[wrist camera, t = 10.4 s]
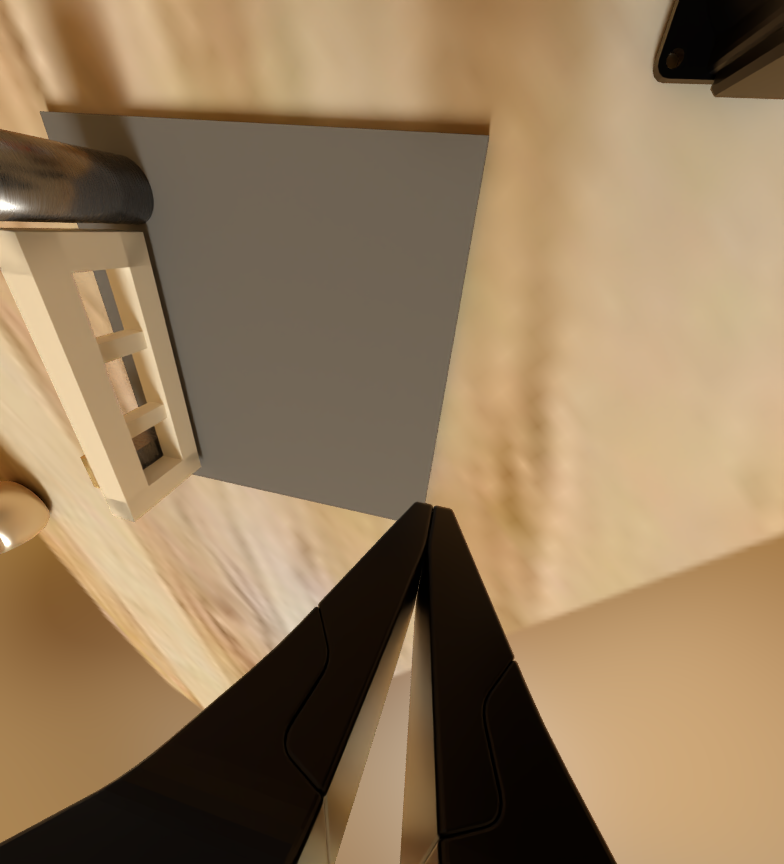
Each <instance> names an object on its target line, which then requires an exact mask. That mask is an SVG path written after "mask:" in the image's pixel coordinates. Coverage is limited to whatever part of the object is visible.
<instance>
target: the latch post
mask: <svg viewBox="0 0 784 864" xmlns="http://www.w3.org/2000/svg"><path fill="white" fill-rule="evenodd" d="M132 441H133V444H134V447H135V449H136V452H137V455H138V458H139V460H140V463H141V466H142V469H143V470H144V469H145V468H147V467H148V466H149V465H151V464H152V463H154V462H155V461H157V460H158V459H159V458H161V457H162V456H163V452H162V449H161V446H160V443H159V440H158V436H157V433H156V430H155V427H154V426H153V427H151V428H149V429H147V430H146V431H144V432H142V433H141V434H139V435H137V436H136V437H134V438H132ZM81 459H82V462H83V464H84V466H85V468H86V470H87V472H88V474H89V476H90V479H91V481H92V483H93V485H94V487H97V488H100V487H99V484H98V482H97V480H96V478H95V476H94V473H93V471H92V469H91V467H90V465H89V463H88V460H87V458H86V456H85V455H83V456H82V457H81Z"/></svg>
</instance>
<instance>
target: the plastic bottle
mask: <svg viewBox="0 0 784 864" xmlns="http://www.w3.org/2000/svg"><path fill="white" fill-rule="evenodd" d="M49 518H50V513H49V511H48V508H47V507H46V505H45V504H44V503H43V501H42V500H41V499H40V498H39V497H38V496H37V495H35V494H34V493H33V492H32V491H30V490H29V489H28V488H26V487H24V486H23V485H21V484H18V483H16V482H12V481H0V554H1V553H5V552H7V551H9V550H11V549H13V548H15V547H17V546H19V545H21V544H23V543H25V542H27V541H28V540H30V539H32V538H33V537H34V536H36V535H37V534H38V533H39V532H40V531H41V530H42V529H44V528H45V526H46V525H47V522H48V520H49Z"/></svg>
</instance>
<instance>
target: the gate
mask: <svg viewBox="0 0 784 864" xmlns="http://www.w3.org/2000/svg"><path fill="white" fill-rule="evenodd" d="M0 269H1V271H2V274H3V276H4V278H5V280H6V282H7V285H8V287H9V289H10V291H11V293H12V296H13V298H14V300H15V302H16V304H17V307H18V309H19V311H20V313H21V315H22V318H23V320H24V322H25V324H26V326H27V329H28V331H29V333H30V335H31V337H32V339H33V342H34V344H35V346H36V348H37V350H38V353H39V355H40V357H41V359H42V361H43V364H44V366H45V368H46V370H47V372H48V375H49V377H50V379H51V381H52V383H53V386H54V388H55V390H56V392H57V394H58V397H59V399H60V401H61V403H62V405H63V408H64V410H65V412H66V414H67V416H68V419H69V421H70V423H71V425H72V427H73V430H74V432H75V434H76V436H77V438H78V441H79V443H80V445H81V447H82V449H83V452H84V454H85V456H86V458H87V460H88V463H89V465H90V467H91V469H92V471H93V473H94V476H95V478H96V480H97V482H98V484H99V487H100V489H101V491H102V493H103V495H104V498H105V500H106V502H107V504H108V506H109V509H110V511H111V513H112V515H113V516H114V517H118V518H121V519H125V520H129V521H133V522H136V521H137V520H138V519H139V518H140V517H142V516H143V515H144V514H145V513H146V512H148V511H149V510H150V509H151V508H152V507H154V506H155V505H156V504H157V503H158V502H160V501H161V500H162V499H163V498H164V497H166V496H167V495H168V494H169V493H170V492H172V491H173V490H174V489H175V488H176V487H178V486H179V485H180V484H181V483H182V482H184V481H185V480H186V479H187V478H188V477H190V476H191V475H192V474H193V473H194V472H196V471H197V470H198V469H199V468H200V467H201V464H200V460H199V456H198V452H197V448H196V444H195V440H194V436H193V432H192V428H191V424H190V420H189V416H188V412H187V408H186V404H185V400H184V396H183V392H182V388H181V384H180V380H179V375H178V371H177V367H176V363H175V359H174V355H173V351H172V347H171V343H170V339H169V335H168V331H167V327H166V323H165V319H164V315H163V311H162V307H161V303H160V299H159V295H158V291H157V287H156V283H155V279H154V275H153V271H152V267H151V263H150V259H149V255H148V250H147V246H146V242H145V238H144V234H143V232H138V231H129V230H121V229H61V228H0ZM96 270H106V273H107V276H108V279H109V283H110V286H111V289H112V292H113V295H114V299H115V302H116V305H117V308H118V311H119V315H120V318H121V321H122V324H123V327H124V330H122V331H118V332H115V333H111V334H107V335H104V336H100V337H96V338H95V335H94V332H93V330H92V327H91V324H90V321H89V318H88V316H87V313H86V310H85V307H84V305H83V302H82V299H81V296H80V293H79V291H78V288H77V285H76V282H75V279H74V277H73V274H72V273H75V272H85V271H96ZM130 354H132V356H133V360H134V363H135V366H136V369H137V372H138V376H139V379H140V382H141V385H142V388H143V392H144V395H145V398H146V401H147V403H146V404H144V405H142V406H140V407H138V408H136V409H134V410H133V411H131V412H129V413H127V414H125V415H123V413H122V410H121V408H120V405H119V402H118V399H117V396H116V394H115V391H114V388H113V385H112V383H111V380H110V377H109V374H108V371H107V369H106V366H105V363H107V362H110V361H113V360H115V359H118V358H121V357H124V356H127V355H130ZM153 426H154V427H155V430H156V433H157V436H158V440H159V443H160V446H161V449H162V452H163V456H162V457H161V458H159V459H158V460H157V461H155V462H154V463H152V464H151V465H149V466H148V467H147V468H145V469H144V470H143V469H142V466H141V463H140V460H139V458H138V455H137V452H136V449H135V447H134V444H133V441H132V438H134V437H136V436H137V435H139V434H141V433H142V432H144V431H146V430H147V429H149V428H151V427H153Z"/></svg>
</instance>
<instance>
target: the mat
mask: <svg viewBox="0 0 784 864" xmlns="http://www.w3.org/2000/svg"><path fill="white" fill-rule="evenodd" d="M40 114H41V117H42V120H43V123H44V126H45V129H46V132H47V135H48V138H49V140H53V141H58V142H63V143H67V144H72V145H77V146H81V147H86V148H91V149H95V150H100V151H105V152H109V153H114V154H118V155H123V156H126V157H127V158H129V159H131V160H132V161H133V162H135V163H136V164H137V165H138V166H139V167H140V169H141V170H142V171H143V173H144V174H145V176H146V177H147V179H148V181H149V183H150V186H151V189H152V192H153V198H154V209H153V213H152V216H151V217H150V219H149V220H148V221H147V222H145V223H143V224H104V223H77V225H78V228H79V229H121V230H129V231H138V232H143V234H144V238H145V242H146V246H147V250H148V255H149V259H150V263H151V267H152V271H153V275H154V279H155V283H156V287H157V291H158V295H159V299H160V303H161V307H162V311H163V315H164V319H165V323H166V327H167V331H168V335H169V339H170V343H171V347H172V351H173V355H174V359H175V363H176V367H177V371H178V375H179V380H180V384H181V388H182V392H183V396H184V400H185V404H186V408H187V412H188V416H189V420H190V424H191V428H192V432H193V436H194V440H195V444H196V448H197V452H198V456H199V460H200V464H201V467H200V468H199V469H198V470H197V471H196V472H194V473H193V475H198V476H202V477H206V478H211V479H215V480H220V481H224V482H229V483H233V484H237V485H242V486H246V487H251V488H255V489H260V490H264V491H268V492H273V493H277V494H282V495H286V496H291V497H295V498H299V499H304V500H308V501H313V502H317V503H322V504H326V505H330V506H335V507H339V508H344V509H348V510H353V511H357V512H361V513H366V514H370V515H375V516H379V517H383V518H388V519H392V520H398V519H399V518H400V517H401V516H402V515H403V514H404V513H405V512H406V511H407V510H408V509H409V508H410V507H411V505H412V504H413V503H415V502H422V503H425V501H426V495H427V489H428V483H429V478H430V472H431V466H432V461H433V455H434V449H435V443H436V438H437V432H438V426H439V421H440V415H441V409H442V404H443V398H444V392H445V386H446V381H447V375H448V369H449V364H450V358H451V352H452V346H453V341H454V335H455V329H456V324H457V318H458V312H459V307H460V301H461V295H462V289H463V284H464V278H465V272H466V267H467V261H468V255H469V249H470V244H471V238H472V232H473V227H474V221H475V215H476V209H477V204H478V198H479V192H480V187H481V181H482V175H483V170H484V164H485V158H486V152H487V147H488V141H489V135H470V134H452V133H433V132H414V131H396V130H377V129H359V128H340V127H322V126H303V125H285V124H266V123H248V122H229V121H211V120H192V119H174V118H155V117H137V116H118V115H100V114H81V113H63V112H44V111H40ZM93 272H94V275H95V278H96V281H97V284H98V287H99V290H100V293H101V296H102V299H103V302H104V305H105V308H106V311H107V314H108V317H109V320H110V323H111V326H112V329H113V332H114V333H115V332H118V331H122V330H124V327H123V324H122V321H121V318H120V315H119V311H118V308H117V305H116V302H115V299H114V295H113V292H112V289H111V286H110V283H109V279H108V276H107V273H106V270H96V271H93ZM122 359H123V362H124V365H125V368H126V371H127V374H128V377H129V380H130V383H131V386H132V389H133V392H134V395H135V398H136V401H137V404H138V407H140V406H142V405H144V404H146V403H147V401H146V398H145V395H144V392H143V388H142V385H141V382H140V379H139V376H138V372H137V369H136V366H135V363H134V360H133V356H132V354H130V355H127V356H124V357H122Z"/></svg>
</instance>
